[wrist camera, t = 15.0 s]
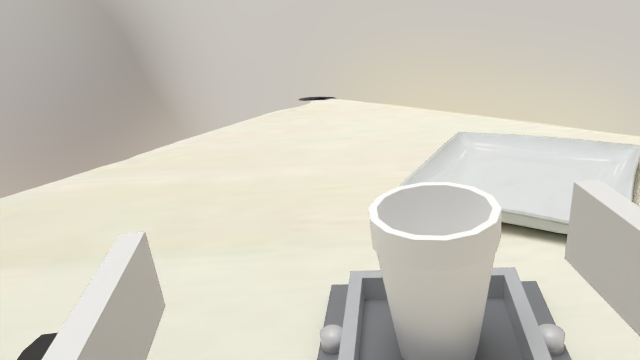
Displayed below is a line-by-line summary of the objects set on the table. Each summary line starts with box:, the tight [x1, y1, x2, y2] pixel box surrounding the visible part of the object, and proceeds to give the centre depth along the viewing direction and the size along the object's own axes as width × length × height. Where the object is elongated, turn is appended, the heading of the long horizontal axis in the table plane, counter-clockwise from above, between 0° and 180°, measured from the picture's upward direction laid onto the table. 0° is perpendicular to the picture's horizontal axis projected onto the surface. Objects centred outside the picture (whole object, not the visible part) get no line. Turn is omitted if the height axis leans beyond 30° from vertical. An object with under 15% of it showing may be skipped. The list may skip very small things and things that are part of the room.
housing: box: [317, 267, 571, 360], centre depth 41 cm, size 20×18×4 cm
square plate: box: [399, 132, 640, 234], centre depth 68 cm, size 27×27×4 cm
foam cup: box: [369, 182, 502, 360], centre depth 38 cm, size 10×9×13 cm
